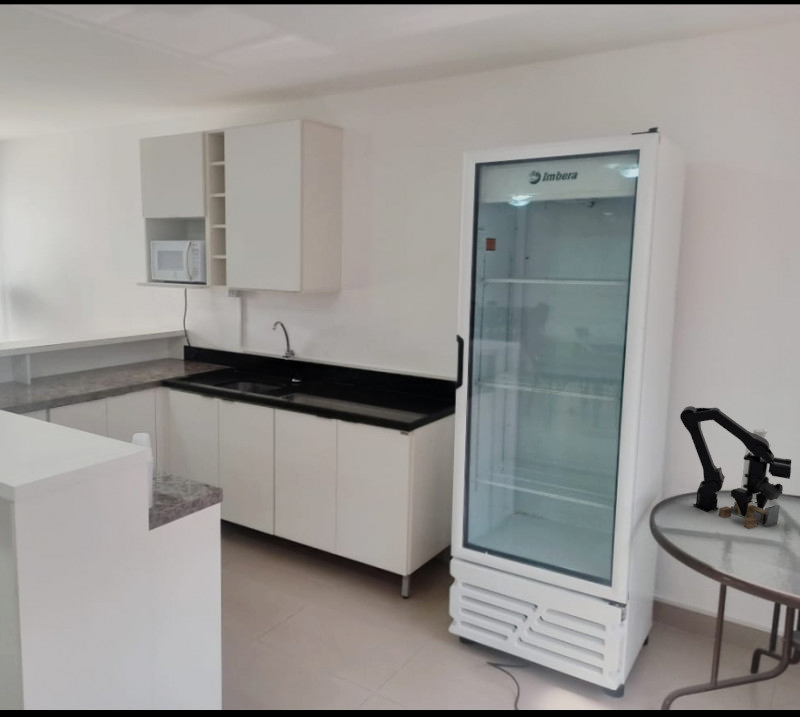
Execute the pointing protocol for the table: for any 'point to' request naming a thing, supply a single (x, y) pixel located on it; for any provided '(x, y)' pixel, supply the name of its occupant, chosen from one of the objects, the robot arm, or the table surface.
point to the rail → (751, 510)
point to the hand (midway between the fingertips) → (751, 513)
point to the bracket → (762, 515)
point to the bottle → (746, 462)
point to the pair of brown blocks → (748, 522)
